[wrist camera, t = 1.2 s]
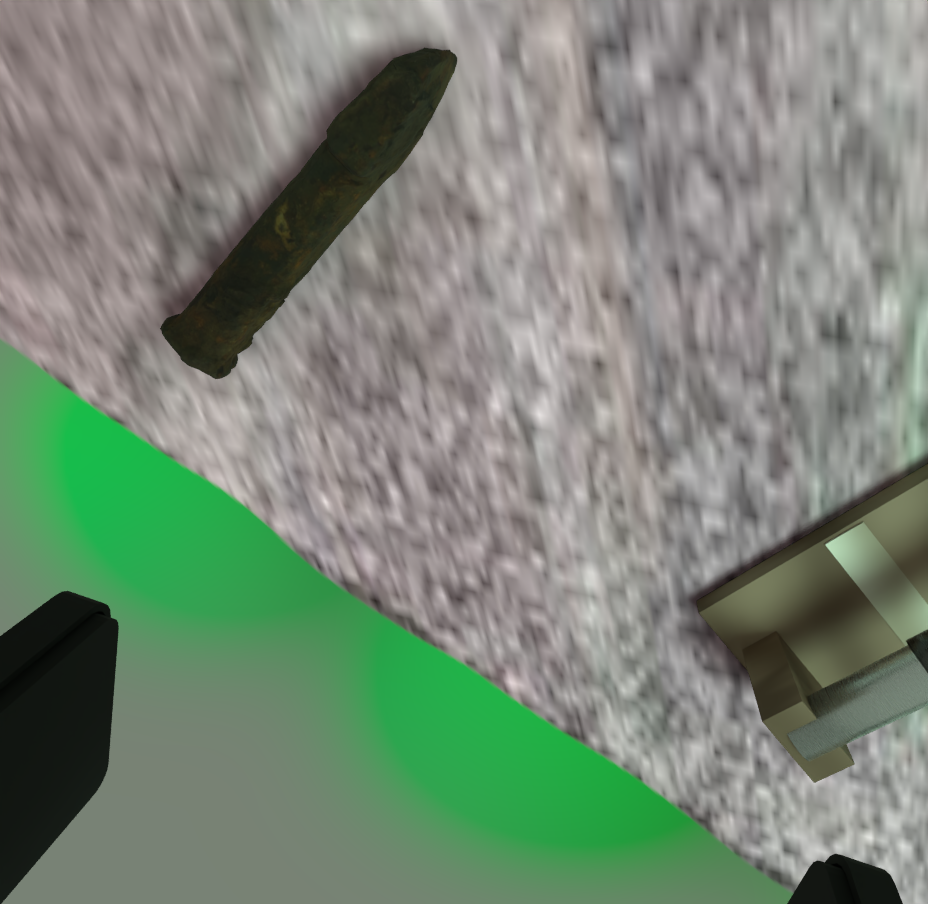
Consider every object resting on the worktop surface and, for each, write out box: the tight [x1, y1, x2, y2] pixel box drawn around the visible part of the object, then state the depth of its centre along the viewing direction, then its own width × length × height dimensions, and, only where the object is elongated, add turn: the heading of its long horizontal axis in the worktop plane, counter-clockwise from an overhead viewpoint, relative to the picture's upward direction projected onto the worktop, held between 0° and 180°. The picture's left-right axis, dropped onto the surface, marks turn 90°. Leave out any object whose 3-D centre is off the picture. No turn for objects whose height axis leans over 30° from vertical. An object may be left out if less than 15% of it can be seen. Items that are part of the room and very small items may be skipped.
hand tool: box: [160, 48, 457, 379], centre depth 35 cm, size 19×4×5 cm, turn 133°
